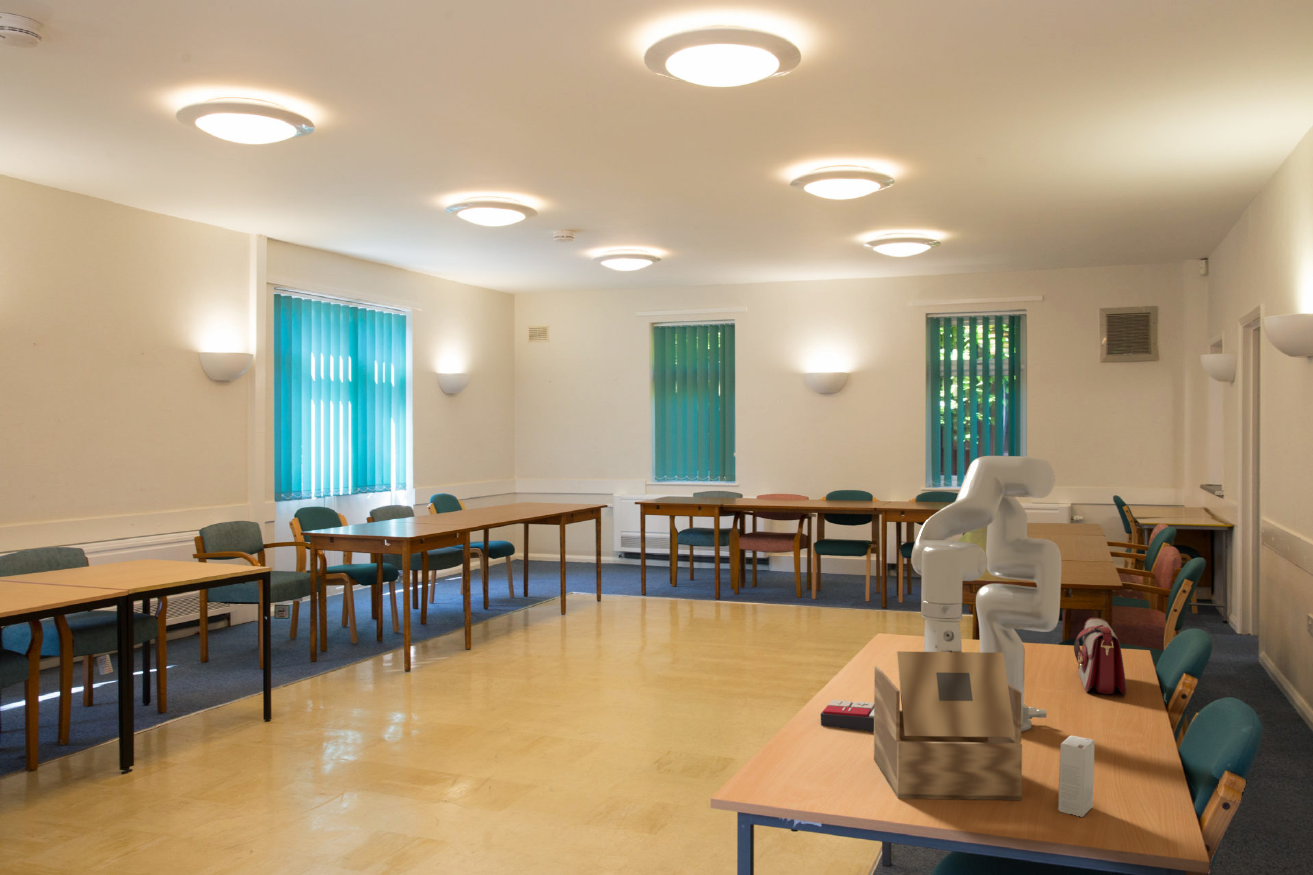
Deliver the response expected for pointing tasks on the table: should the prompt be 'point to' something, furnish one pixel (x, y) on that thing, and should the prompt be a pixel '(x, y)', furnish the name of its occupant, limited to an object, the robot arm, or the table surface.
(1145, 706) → the table surface
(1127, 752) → the table surface
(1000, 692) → the carton flap
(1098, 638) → the handbag
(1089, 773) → the skincare box
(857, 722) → the calculator
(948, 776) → the carton
